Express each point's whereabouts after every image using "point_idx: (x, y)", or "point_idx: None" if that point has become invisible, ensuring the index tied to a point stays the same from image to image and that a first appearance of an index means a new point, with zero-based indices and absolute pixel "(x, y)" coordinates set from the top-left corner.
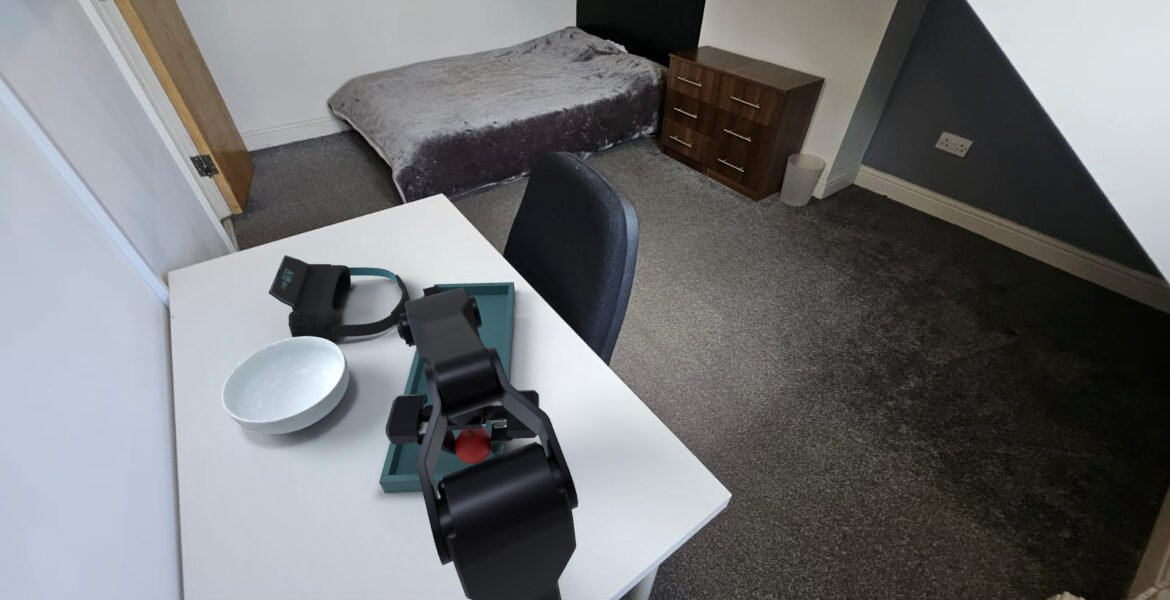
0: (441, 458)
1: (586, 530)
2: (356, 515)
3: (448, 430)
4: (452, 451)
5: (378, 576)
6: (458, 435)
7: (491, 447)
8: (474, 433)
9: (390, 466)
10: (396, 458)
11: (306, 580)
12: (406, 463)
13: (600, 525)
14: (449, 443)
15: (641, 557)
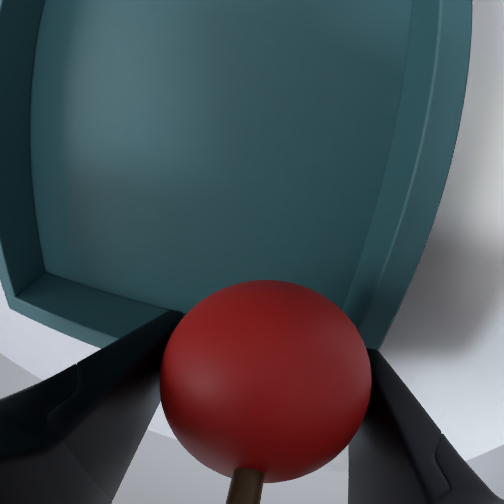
0: (142, 227)
1: (458, 430)
2: None
3: (90, 455)
4: (157, 404)
5: None
6: (166, 396)
7: (350, 495)
8: (272, 471)
9: (8, 274)
10: (19, 221)
11: (22, 362)
12: (52, 221)
13: (480, 425)
14: (128, 442)
15: (488, 448)
